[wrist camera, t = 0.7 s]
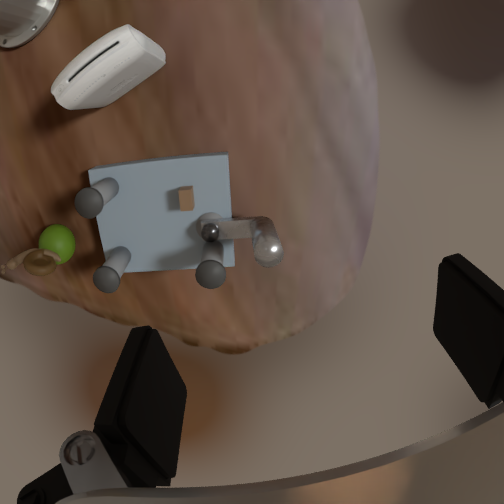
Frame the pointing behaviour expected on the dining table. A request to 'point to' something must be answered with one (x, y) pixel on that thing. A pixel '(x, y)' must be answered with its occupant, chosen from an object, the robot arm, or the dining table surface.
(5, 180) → the dining table surface
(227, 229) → the hinged leg
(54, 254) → the snail figurine
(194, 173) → the stool frame
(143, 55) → the photo printer
